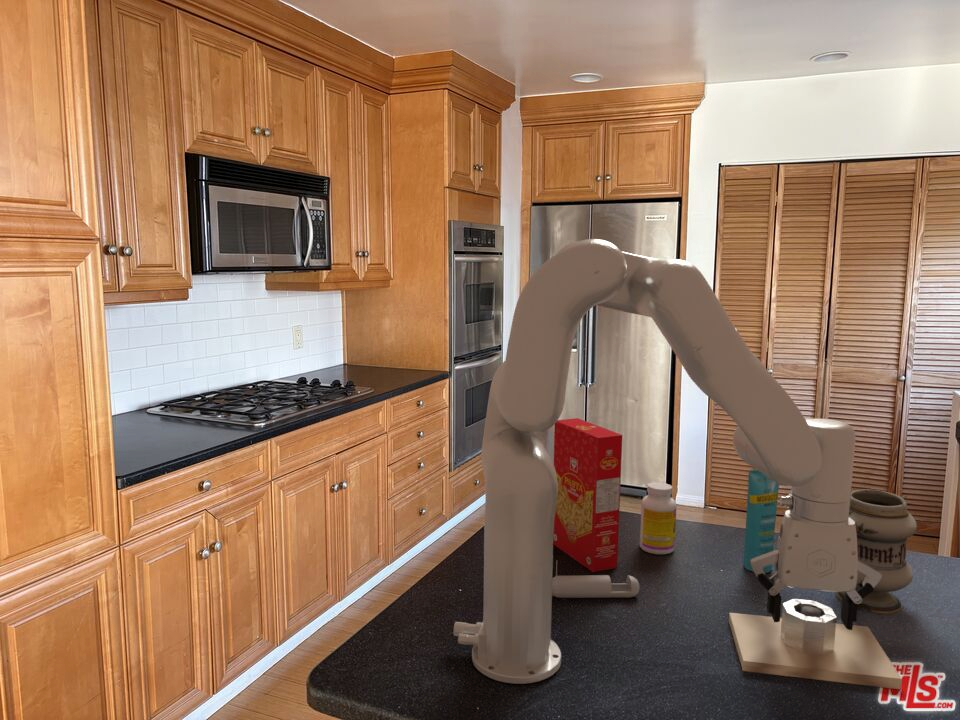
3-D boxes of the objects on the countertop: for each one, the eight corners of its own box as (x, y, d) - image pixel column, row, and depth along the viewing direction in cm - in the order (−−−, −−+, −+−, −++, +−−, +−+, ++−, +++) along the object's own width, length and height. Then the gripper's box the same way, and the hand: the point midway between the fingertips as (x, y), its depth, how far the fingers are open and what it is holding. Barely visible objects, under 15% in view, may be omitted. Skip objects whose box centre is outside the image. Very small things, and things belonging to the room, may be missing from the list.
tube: (754, 577, 129) (761, 473, 127) (733, 567, 133) (739, 466, 131) (782, 568, 133) (789, 467, 130) (760, 559, 137) (766, 461, 134)
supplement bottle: (678, 556, 138) (681, 491, 136) (643, 555, 138) (646, 491, 136) (669, 542, 145) (672, 480, 143) (636, 542, 145) (639, 480, 143)
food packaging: (551, 542, 144) (554, 420, 140) (574, 538, 146) (577, 418, 143) (593, 572, 131) (597, 437, 127) (617, 567, 133) (622, 434, 129)
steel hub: (787, 652, 102) (789, 618, 101) (777, 628, 108) (780, 597, 108) (837, 657, 101) (840, 624, 100) (825, 633, 107) (827, 602, 106)
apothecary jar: (826, 606, 119) (835, 501, 116) (829, 578, 129) (837, 481, 127) (911, 624, 113) (922, 514, 111) (907, 593, 124) (917, 492, 121)
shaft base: (742, 670, 100) (745, 626, 99) (728, 621, 113) (731, 582, 112) (900, 689, 96) (905, 643, 95) (867, 636, 109) (870, 595, 109)
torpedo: (634, 589, 125) (636, 553, 124) (642, 602, 120) (643, 565, 119) (530, 590, 124) (531, 554, 123) (534, 603, 119) (535, 566, 118)
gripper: (759, 511, 100) (751, 627, 102) (896, 521, 96) (884, 641, 99) (750, 494, 107) (743, 603, 109) (877, 503, 103) (867, 615, 106)
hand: (810, 621), depth 104 cm, fingers open, 9 cm apart
